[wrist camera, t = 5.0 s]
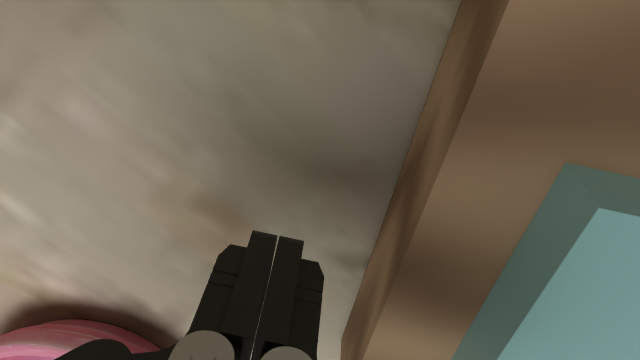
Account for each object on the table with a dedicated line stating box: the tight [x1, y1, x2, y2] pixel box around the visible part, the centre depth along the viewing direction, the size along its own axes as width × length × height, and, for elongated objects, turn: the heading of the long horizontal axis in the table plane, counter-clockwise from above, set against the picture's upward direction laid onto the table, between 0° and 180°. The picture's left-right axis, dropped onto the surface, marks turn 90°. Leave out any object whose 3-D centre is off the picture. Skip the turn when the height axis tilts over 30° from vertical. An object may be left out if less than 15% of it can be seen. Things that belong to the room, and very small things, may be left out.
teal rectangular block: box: [451, 162, 640, 360], centre depth 14 cm, size 9×6×2 cm, turn 169°
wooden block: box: [340, 0, 640, 360], centre depth 16 cm, size 18×14×4 cm
